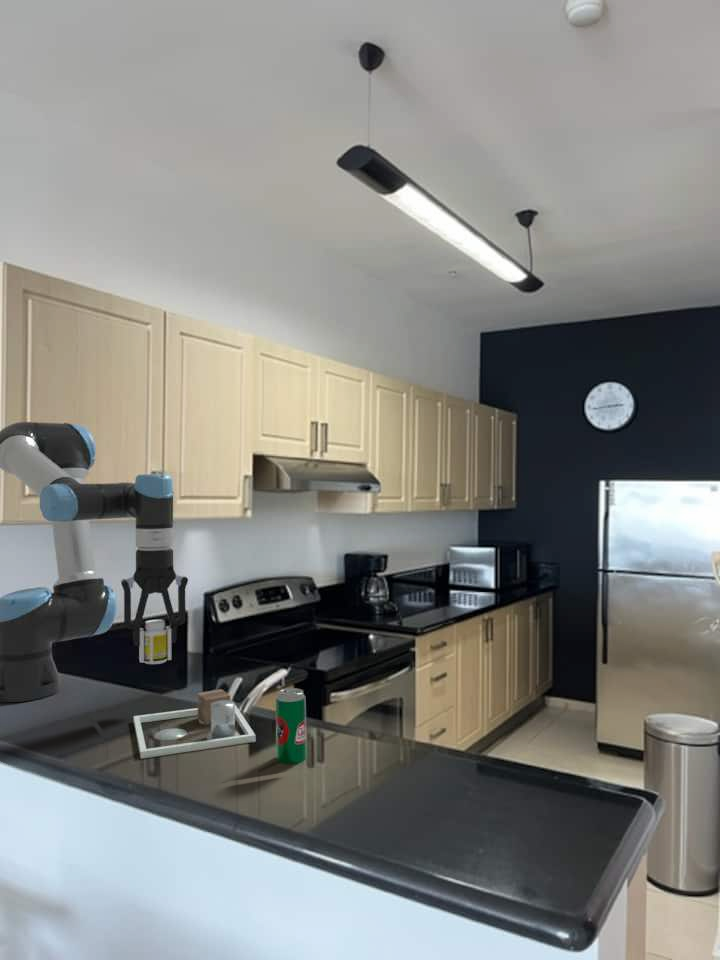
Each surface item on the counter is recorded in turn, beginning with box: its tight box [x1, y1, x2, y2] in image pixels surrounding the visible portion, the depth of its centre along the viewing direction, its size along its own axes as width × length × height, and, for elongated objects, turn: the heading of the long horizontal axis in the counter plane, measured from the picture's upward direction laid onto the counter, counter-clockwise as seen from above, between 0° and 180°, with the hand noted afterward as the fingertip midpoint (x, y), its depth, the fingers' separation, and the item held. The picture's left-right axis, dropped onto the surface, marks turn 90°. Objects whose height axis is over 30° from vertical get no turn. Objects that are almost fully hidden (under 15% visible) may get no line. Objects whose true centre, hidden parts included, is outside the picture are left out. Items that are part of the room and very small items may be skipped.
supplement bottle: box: [144, 619, 168, 665], centre depth 148 cm, size 5×5×8 cm
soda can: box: [275, 687, 308, 765], centre depth 122 cm, size 5×5×12 cm
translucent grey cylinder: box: [210, 699, 236, 739], centre depth 132 cm, size 4×4×6 cm
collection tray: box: [133, 704, 257, 760], centre depth 135 cm, size 20×20×2 cm
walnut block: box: [197, 688, 231, 726], centre depth 142 cm, size 5×5×5 cm
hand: (155, 659), depth 149 cm, fingers closed on supplement bottle, 5 cm apart
